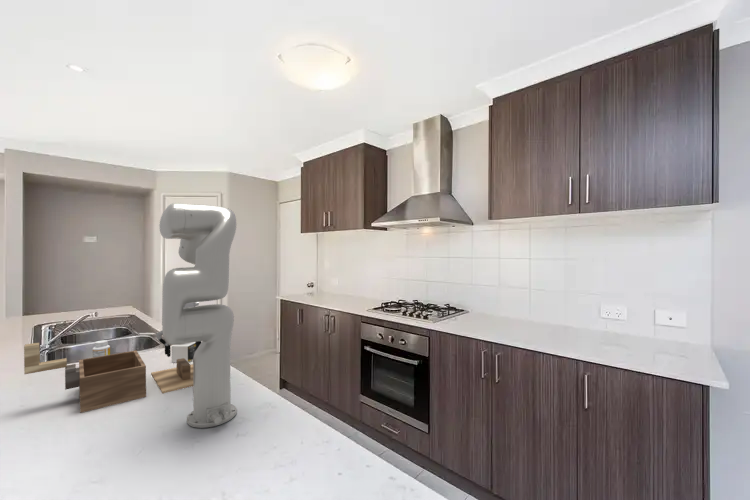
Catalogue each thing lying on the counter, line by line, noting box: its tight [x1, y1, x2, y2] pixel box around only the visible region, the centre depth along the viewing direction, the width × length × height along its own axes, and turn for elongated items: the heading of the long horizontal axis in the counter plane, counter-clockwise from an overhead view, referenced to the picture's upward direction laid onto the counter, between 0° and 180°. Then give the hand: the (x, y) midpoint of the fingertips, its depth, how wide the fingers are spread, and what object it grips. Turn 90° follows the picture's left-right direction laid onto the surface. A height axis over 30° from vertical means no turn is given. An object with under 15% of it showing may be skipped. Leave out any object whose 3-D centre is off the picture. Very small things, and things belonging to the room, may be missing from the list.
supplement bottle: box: [92, 339, 111, 358], centre depth 138 cm, size 6×6×10 cm
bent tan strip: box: [23, 342, 68, 375], centre depth 102 cm, size 3×9×8 cm, turn 131°
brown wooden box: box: [64, 349, 147, 414], centre depth 112 cm, size 22×19×11 cm
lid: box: [150, 358, 193, 394], centre depth 126 cm, size 23×17×6 cm
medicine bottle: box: [171, 342, 196, 364], centre depth 146 cm, size 7×7×12 cm
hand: (183, 353), depth 126 cm, fingers open, 9 cm apart
